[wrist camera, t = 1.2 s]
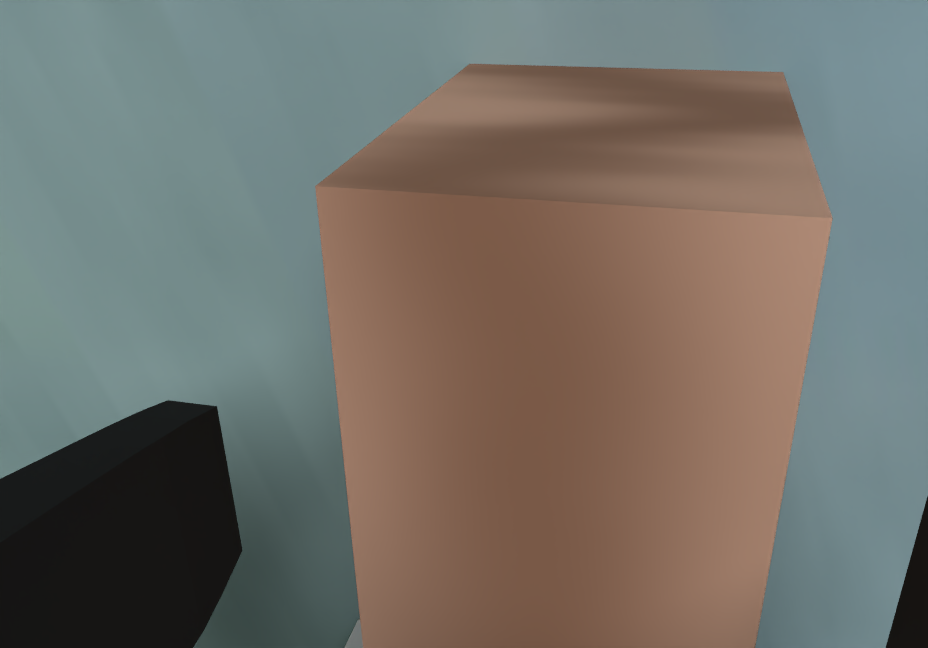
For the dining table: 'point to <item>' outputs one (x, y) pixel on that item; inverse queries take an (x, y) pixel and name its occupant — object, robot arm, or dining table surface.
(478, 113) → the board block
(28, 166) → the dining table surface
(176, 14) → the dining table surface
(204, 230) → the dining table surface
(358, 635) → the standoff plate
